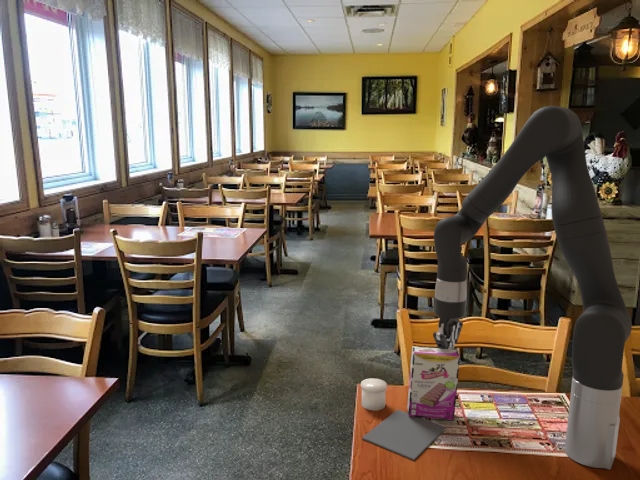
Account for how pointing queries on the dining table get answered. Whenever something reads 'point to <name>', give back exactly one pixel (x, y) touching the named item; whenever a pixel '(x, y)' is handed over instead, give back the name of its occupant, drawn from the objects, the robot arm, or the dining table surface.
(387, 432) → the mat
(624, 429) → the dining table surface
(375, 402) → the sugar bowl
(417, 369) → the candy bar box
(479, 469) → the dining table surface
